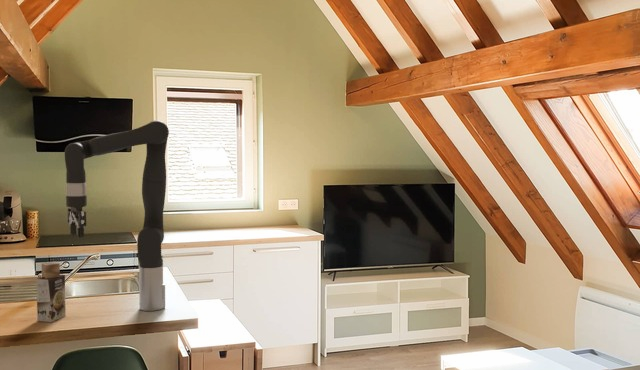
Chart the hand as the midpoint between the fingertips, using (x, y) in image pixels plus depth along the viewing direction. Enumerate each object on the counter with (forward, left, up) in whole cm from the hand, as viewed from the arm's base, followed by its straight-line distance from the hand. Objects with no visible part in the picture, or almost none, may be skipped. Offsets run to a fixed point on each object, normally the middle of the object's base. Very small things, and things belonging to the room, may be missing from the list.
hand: (77, 235), depth 253 cm
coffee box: (+11, +3, -30) cm, 32 cm away
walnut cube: (+11, +3, -14) cm, 18 cm away
